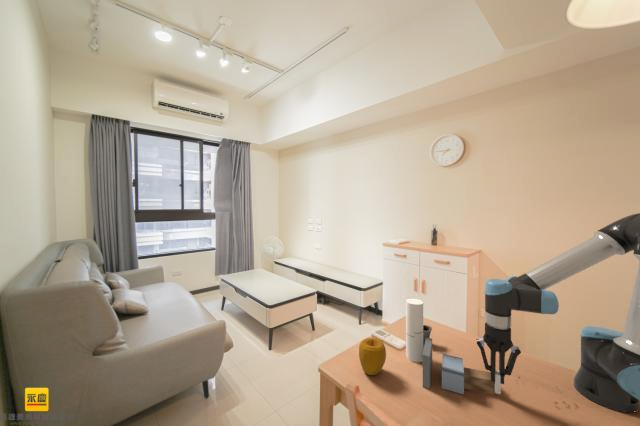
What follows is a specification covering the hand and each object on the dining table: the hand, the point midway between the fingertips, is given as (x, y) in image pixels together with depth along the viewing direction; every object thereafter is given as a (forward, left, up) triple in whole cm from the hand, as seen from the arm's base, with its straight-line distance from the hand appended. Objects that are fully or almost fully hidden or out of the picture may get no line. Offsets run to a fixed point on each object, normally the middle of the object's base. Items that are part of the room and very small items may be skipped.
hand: (497, 391), depth 88 cm
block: (+14, 0, -2) cm, 14 cm away
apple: (+43, +7, -2) cm, 43 cm away
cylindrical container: (+29, -11, -2) cm, 31 cm away
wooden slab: (+8, -2, -2) cm, 8 cm away
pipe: (+28, -23, -2) cm, 36 cm away
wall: (+22, 0, -2) cm, 23 cm away
